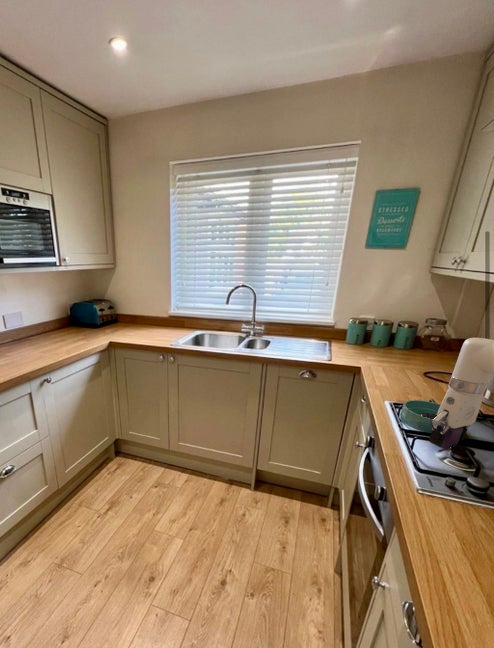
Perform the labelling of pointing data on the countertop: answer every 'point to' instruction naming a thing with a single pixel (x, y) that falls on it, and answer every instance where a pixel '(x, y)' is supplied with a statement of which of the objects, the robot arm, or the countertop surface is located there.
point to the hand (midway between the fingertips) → (445, 441)
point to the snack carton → (451, 436)
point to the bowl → (419, 414)
